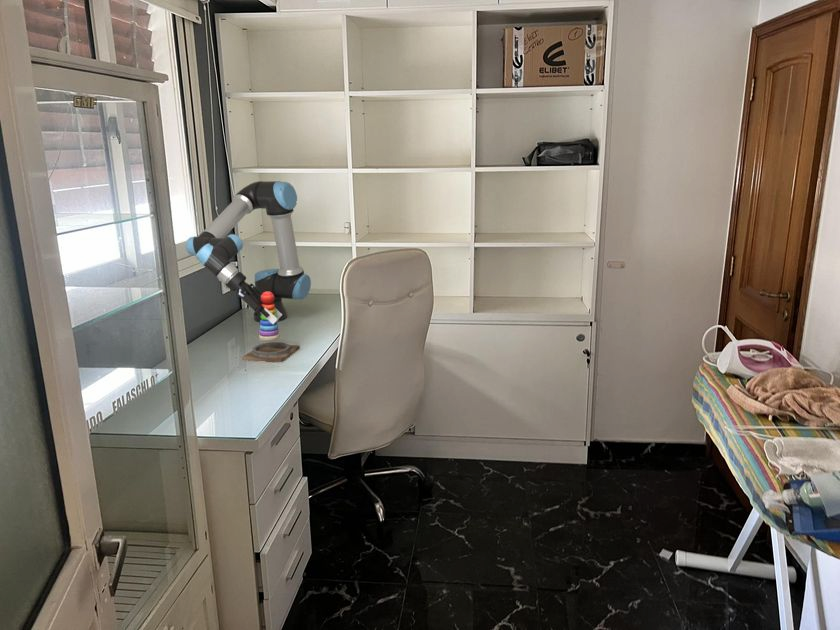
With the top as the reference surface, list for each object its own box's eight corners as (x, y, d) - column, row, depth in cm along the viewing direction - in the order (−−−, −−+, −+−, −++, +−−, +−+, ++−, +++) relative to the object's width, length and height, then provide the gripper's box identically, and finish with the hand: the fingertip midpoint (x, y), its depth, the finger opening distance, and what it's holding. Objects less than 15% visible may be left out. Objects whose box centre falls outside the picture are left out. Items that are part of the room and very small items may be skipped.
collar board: (263, 346, 261) (262, 339, 260) (299, 348, 258) (299, 341, 257) (242, 360, 244) (241, 353, 243) (281, 362, 241) (280, 356, 240)
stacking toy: (274, 342, 244) (271, 294, 239) (255, 341, 246) (251, 293, 241) (283, 336, 252) (280, 289, 246) (264, 335, 253) (260, 288, 248)
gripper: (234, 279, 253) (277, 319, 257) (217, 290, 235) (264, 333, 238) (246, 266, 251) (290, 306, 255) (230, 275, 233) (277, 319, 237)
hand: (277, 319), depth 247 cm, fingers closed on stacking toy, 6 cm apart
